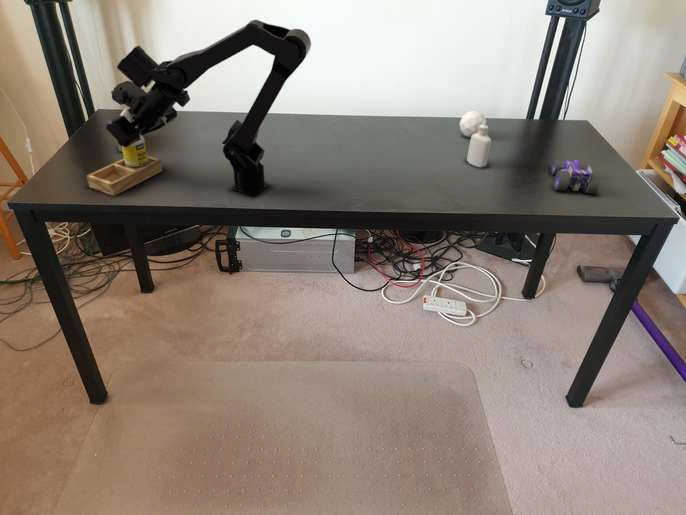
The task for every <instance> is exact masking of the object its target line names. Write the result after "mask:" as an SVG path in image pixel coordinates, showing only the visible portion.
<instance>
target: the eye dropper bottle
mask: <svg viewBox="0 0 686 515" xmlns="http://www.w3.org/2000/svg"><path fill="white" fill-rule="evenodd" d="M486 124H487V120H486V121H483V124H482V125H480V126H479V129H478V133H475V134H473V135H472V137H471V138H470V141H469V146H468V151H467V156H466V161H467V163H468V164H470V165H472V166H474V167H476V168H485V167H487V164H488V160H489V156H490V151H491V146H492V139H491V138H490V136H489V135H488V132H489V126H488V124H487V125H486Z"/></svg>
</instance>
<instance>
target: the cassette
mask: <svg viewBox="0 0 686 515" xmlns="http://www.w3.org/2000/svg"><path fill="white" fill-rule="evenodd" d="M128 109H129V108H123V110H121V111H122V112H120V114H119V115H121V116H125V117H126V118H127V120H128V121H129V122H132V121H131V116H130V112H129V111H128ZM116 143H117V148H118V152H121V153H123V151H122V147H121V146H120V145H119V144H118V140H117V139H116Z"/></svg>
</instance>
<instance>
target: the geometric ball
mask: <svg viewBox="0 0 686 515" xmlns="http://www.w3.org/2000/svg"><path fill="white" fill-rule="evenodd" d="M483 121H486V122H487V118H486V117H485V115H484V114H483V113H482V112H480V111H477V110H471V111H467V112H466V113H465V114H464V115H463V116H461V119H460V121H459V129H460V132H461V133H462V135H463V136H464V137H467V138H470V139H471V137H472V135H473V134H475V133H478V129H479V126H480V125H482V124H483ZM486 125H487V126H488V124H487V123H486Z"/></svg>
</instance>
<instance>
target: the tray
mask: <svg viewBox="0 0 686 515" xmlns="http://www.w3.org/2000/svg"><path fill="white" fill-rule="evenodd" d="M147 156H148V162H149V164H148V165H145V166H143V167H141V168H139V169H137V170H133V169H130V168H127V167H126V165H125V160H124V157H123V158H122V159H121V158H120V159H119V160H117V161H115V162H113V163H111V164H109V165H106V166H104V167H102V168H100V169H98V170H95V171H93V172H92V173H88V174H87V175H86V180H87V184H88V187H89V188H91V189H94V190H96V191H99V192H102V193H104V194H107V195H110V196H113V197H115V196H117V195H119V194H121V193H124V192H125V191H126V190H129V189H130V188H132V187H134V186H136V185H138V184H141V183H142V182H143V181H145V180H147V179H149V178H151V177H154V176H155V175H158V174H159V173H162V172H163V167H162V161H161V159H159V158H156V157H152V156H149V155H147Z"/></svg>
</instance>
